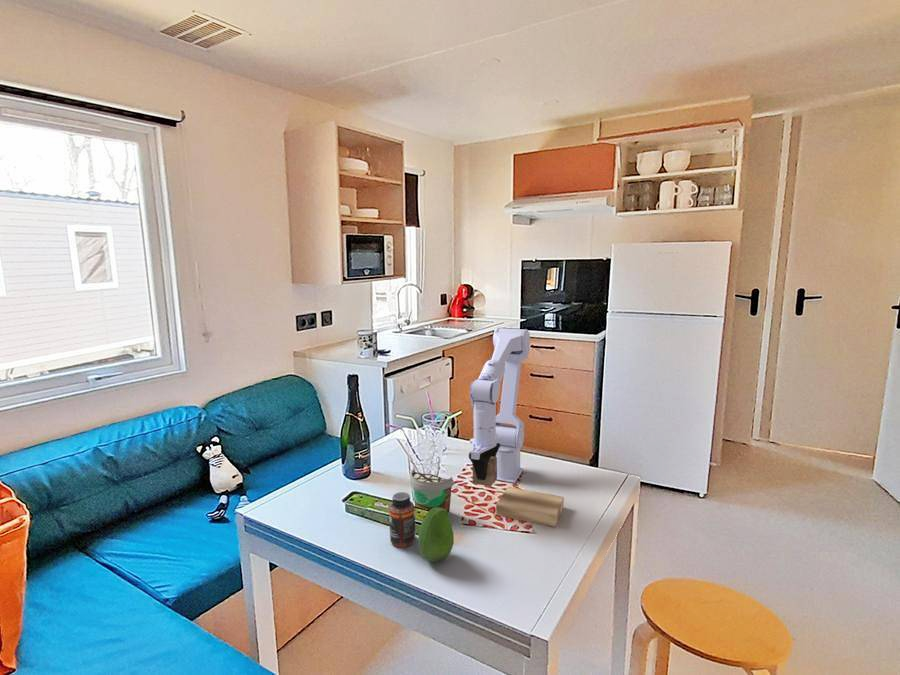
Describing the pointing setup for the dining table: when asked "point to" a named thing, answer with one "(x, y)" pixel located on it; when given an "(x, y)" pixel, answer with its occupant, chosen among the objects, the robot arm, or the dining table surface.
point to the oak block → (530, 506)
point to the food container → (431, 491)
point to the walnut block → (488, 473)
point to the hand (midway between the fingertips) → (484, 474)
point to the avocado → (436, 535)
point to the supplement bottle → (402, 520)
